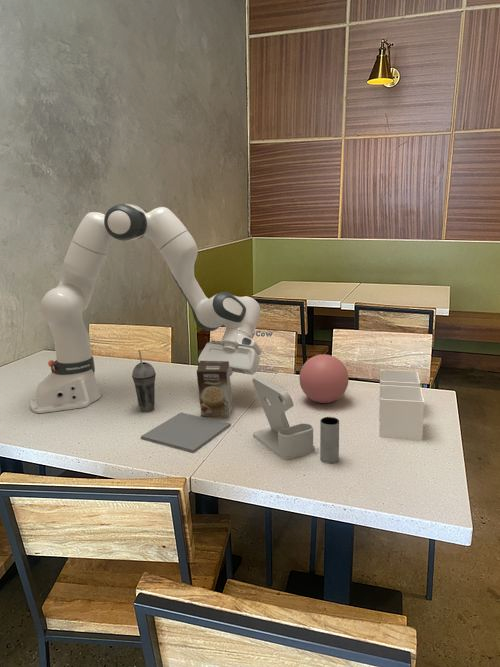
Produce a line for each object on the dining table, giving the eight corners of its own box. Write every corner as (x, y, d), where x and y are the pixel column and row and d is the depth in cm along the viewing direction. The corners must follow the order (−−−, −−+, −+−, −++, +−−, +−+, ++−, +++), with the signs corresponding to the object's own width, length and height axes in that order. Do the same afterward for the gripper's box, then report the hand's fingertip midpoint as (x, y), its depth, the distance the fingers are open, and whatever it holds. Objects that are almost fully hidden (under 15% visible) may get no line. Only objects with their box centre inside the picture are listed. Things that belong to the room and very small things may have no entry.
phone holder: (318, 451, 126) (318, 385, 121) (285, 461, 121) (284, 393, 117) (281, 426, 141) (280, 366, 136) (250, 435, 136) (248, 373, 131)
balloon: (360, 393, 163) (361, 348, 160) (335, 414, 147) (336, 365, 144) (318, 385, 172) (319, 343, 168) (290, 404, 156) (290, 358, 152)
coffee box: (200, 416, 149) (194, 371, 142) (204, 404, 155) (199, 360, 148) (230, 417, 148) (226, 371, 141) (233, 405, 154) (229, 360, 147)
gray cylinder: (318, 455, 124) (318, 417, 121) (336, 453, 124) (336, 416, 122) (322, 464, 119) (322, 425, 117) (340, 462, 120) (341, 423, 117)
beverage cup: (163, 407, 157) (158, 347, 152) (149, 415, 151) (144, 353, 146) (144, 403, 160) (139, 345, 155) (130, 412, 154) (124, 351, 149)
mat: (181, 414, 151) (180, 412, 151) (230, 425, 142) (230, 423, 142) (141, 438, 136) (140, 436, 136) (193, 452, 127) (193, 450, 127)
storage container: (422, 440, 130) (424, 402, 127) (379, 437, 133) (380, 399, 130) (415, 404, 153) (417, 371, 151) (379, 402, 156) (380, 369, 153)
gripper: (203, 335, 160) (187, 372, 154) (259, 341, 150) (244, 382, 144) (212, 344, 165) (196, 381, 159) (266, 351, 155) (251, 391, 149)
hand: (219, 381), depth 151 cm, fingers closed
